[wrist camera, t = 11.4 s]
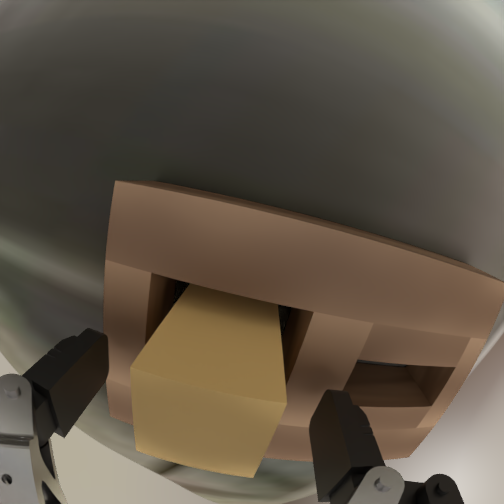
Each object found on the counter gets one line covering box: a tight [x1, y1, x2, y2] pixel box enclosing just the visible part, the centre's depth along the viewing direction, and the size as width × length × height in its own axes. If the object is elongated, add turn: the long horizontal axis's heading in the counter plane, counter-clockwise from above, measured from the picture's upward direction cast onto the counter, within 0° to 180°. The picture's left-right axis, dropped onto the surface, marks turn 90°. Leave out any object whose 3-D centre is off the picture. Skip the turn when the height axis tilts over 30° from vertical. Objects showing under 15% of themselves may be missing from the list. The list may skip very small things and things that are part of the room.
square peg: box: [130, 283, 287, 478], centre depth 11 cm, size 4×4×8 cm
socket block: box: [103, 181, 504, 461], centre depth 13 cm, size 12×18×4 cm, turn 77°
